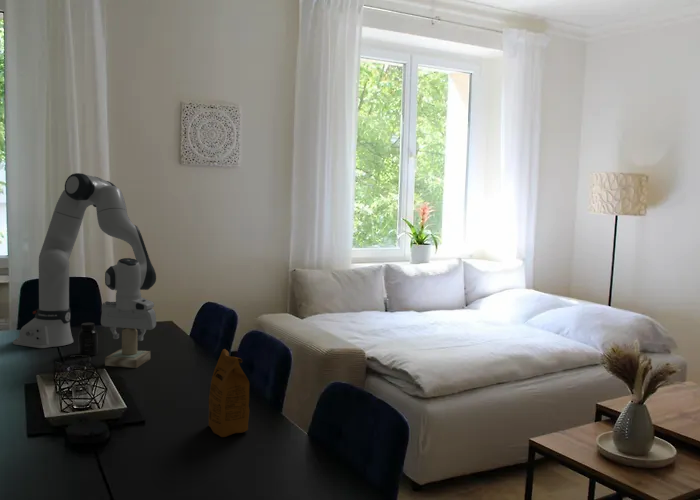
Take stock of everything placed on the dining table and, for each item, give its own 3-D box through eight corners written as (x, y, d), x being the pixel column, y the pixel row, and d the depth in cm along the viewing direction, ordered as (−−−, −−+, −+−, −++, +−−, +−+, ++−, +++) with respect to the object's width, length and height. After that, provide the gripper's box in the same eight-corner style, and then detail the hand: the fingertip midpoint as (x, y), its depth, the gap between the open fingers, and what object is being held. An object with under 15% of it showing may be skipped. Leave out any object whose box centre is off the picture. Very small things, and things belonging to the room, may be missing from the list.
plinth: (105, 365, 238) (105, 356, 238) (120, 356, 250) (120, 348, 250) (136, 367, 237) (136, 359, 236) (150, 359, 249) (150, 350, 248)
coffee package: (236, 419, 192) (238, 345, 189) (252, 434, 181) (254, 356, 178) (203, 424, 187) (205, 349, 184) (217, 440, 176) (219, 360, 174)
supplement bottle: (100, 352, 254) (100, 322, 253) (92, 357, 248) (92, 326, 246) (84, 351, 255) (84, 321, 254) (75, 356, 248) (74, 325, 247)
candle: (132, 355, 240) (132, 329, 239) (118, 354, 241) (118, 327, 240) (140, 351, 246) (140, 325, 245) (126, 350, 247) (126, 324, 245)
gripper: (97, 302, 239) (97, 339, 240) (151, 306, 237) (150, 343, 238) (105, 299, 245) (105, 335, 247) (158, 303, 243) (157, 339, 244)
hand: (128, 339), depth 242 cm, fingers open, 8 cm apart
